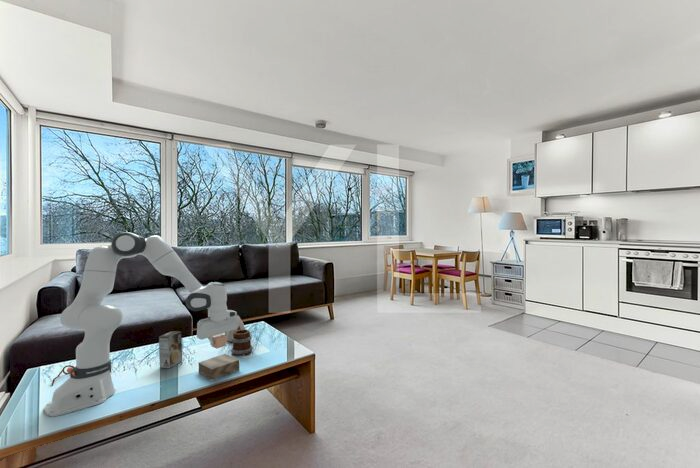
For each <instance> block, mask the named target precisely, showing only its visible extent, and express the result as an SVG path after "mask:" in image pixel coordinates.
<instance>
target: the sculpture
mask: <svg viewBox="0 0 700 468" xmlns="http://www.w3.org/2000/svg"><path fill="white" fill-rule="evenodd" d="M236 316H237V318H238V326H240V330H244V329H245V330H246V327H245V325H244V322H243V321H242V318H241V317H240V315H238V314H237V315H236ZM235 331H237V329H235V330H232V331H229V335H228V337H227V341H226V343H227V342H229V343H233V342H232V337H233V333H234V332H235Z"/></svg>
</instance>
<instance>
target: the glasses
mask: <svg viewBox="0 0 700 468" xmlns="http://www.w3.org/2000/svg"><path fill="white" fill-rule="evenodd" d="M69 367H72V368H74V367H75V366H74V365H70V364H68V365H65V366H63V367H62V369H61V371H60V372H59V373H58V374H57V376H56V377H54V378H53V380H52V381H51V385H50V386H51V387H54V383H55V380H56V379H58V378H59V377H60V375H62V373H63V374H64V375H70V373H68V372H67V371H65V369H66V368H69Z"/></svg>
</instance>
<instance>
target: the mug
mask: <svg viewBox="0 0 700 468" xmlns="http://www.w3.org/2000/svg"><path fill="white" fill-rule="evenodd" d="M252 338H253V337H252V335H251V332H250V330H249V329H246V328H245V329H244V330H240V326H238V328H237V331H235V332H234V333H233V337H232V342H231V343H232V347H231V350H230V352H231V355H233V356H236V357H243V356H247V355H250V354H251V353H252V351H253V348H254V347H253V345H252V343H251V342H252V341H251V340H252Z"/></svg>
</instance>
